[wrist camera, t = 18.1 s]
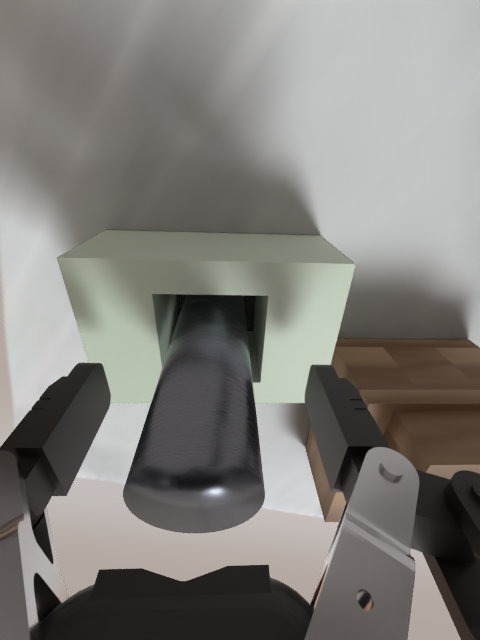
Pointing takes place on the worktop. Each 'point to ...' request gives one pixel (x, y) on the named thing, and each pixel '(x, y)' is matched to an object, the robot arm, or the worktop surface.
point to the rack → (206, 279)
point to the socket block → (411, 404)
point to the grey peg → (201, 426)
